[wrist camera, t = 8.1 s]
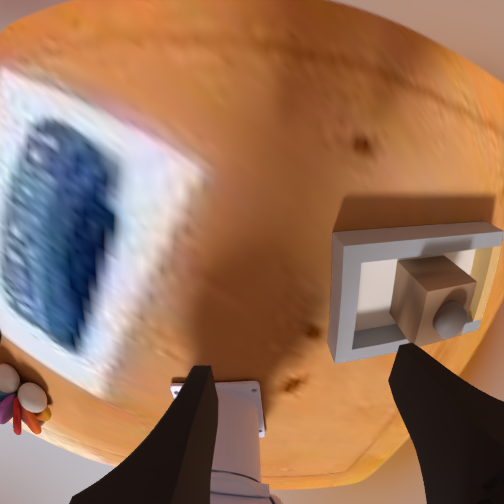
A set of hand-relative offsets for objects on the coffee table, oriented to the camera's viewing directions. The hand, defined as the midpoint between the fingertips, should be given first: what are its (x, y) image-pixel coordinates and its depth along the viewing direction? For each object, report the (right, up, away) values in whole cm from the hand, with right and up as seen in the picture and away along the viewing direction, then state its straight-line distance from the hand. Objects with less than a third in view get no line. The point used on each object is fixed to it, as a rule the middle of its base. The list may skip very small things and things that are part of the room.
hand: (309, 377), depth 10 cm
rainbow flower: (-31, -13, +16) cm, 38 cm away
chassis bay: (+11, +2, +11) cm, 15 cm away
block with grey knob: (+11, +2, +10) cm, 15 cm away
